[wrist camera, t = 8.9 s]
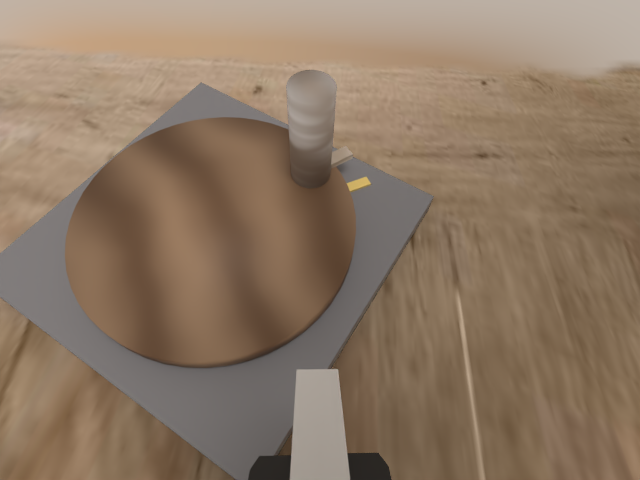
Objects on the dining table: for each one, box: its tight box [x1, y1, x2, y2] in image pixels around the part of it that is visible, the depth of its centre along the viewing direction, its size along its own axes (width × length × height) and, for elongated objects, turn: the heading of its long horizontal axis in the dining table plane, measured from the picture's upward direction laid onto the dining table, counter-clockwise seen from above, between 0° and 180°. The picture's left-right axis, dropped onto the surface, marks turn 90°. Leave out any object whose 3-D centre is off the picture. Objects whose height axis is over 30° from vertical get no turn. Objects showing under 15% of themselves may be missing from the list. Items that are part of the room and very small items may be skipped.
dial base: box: [0, 83, 434, 480], centre depth 33 cm, size 24×24×2 cm
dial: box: [65, 70, 356, 368], centre depth 27 cm, size 22×20×10 cm
